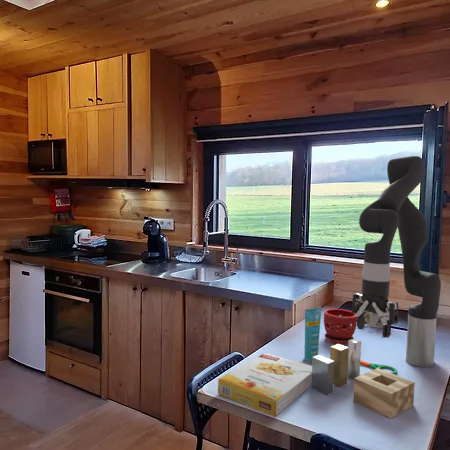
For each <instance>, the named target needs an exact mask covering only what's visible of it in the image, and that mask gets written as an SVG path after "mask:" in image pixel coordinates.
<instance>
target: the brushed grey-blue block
mask: <svg viewBox="0 0 450 450" xmlns="http://www.w3.org/2000/svg"><path fill="white" fill-rule="evenodd" d="M311 366H312V384H311V386H310V387H311V389H312V390H314V391H317V392H319V393H322V394H323V395H325V396H328V394H329V395H330V393H331V394H333V393H334V385H333V378H334V361H333V360H330V358H327V357H325V356H323V355H320V354H318V355H317V356H314V357H312V361H311ZM332 392H333V393H332Z"/></svg>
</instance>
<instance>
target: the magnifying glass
mask: <svg viewBox="0 0 450 450" xmlns="http://www.w3.org/2000/svg"><path fill="white" fill-rule="evenodd" d="M360 366H362V367H366V368H370V369H372V370H374V369H377V368H379V369H381V370H383V369H385V368H386V369H387V370H391V371H392V372H391V373H392V374H394V375H397V374H398V370H397V368H395V367H393V366H391V365H387V364H386V365H385V364H378V363H371V362H368V361H364V360H361V359H360Z"/></svg>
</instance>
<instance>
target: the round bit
mask: <svg viewBox="0 0 450 450" xmlns="http://www.w3.org/2000/svg"><path fill="white" fill-rule="evenodd" d="M347 347H348V348H349V352H348V377H347V379H348V378H349V379H350V380H354V378H356V377H358V376H360V375H361V373H360V372H361V365H360V360H361V356H362V355H361V352H362V342H361V340H358V339H354V340H349V341H348V344H347Z"/></svg>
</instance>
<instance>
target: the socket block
mask: <svg viewBox="0 0 450 450" xmlns="http://www.w3.org/2000/svg"><path fill="white" fill-rule="evenodd" d="M415 383H416V382H414V381H412V380H409V379H407V378H404V377H402V376H400V375H397V374H396V375H394V374H392V372H389V371H386V370H384V369H379V368H377V369H372V370H370V371H368V372H365V373H362V374H360V376H358V377H356V378H354V379H353V401H352V402H355V403H357V404H359V405H361V406H363V407H364V408H367V409H368V410H371V411H373V412H375V413H378V414H379V415H382V416H383V417H386V418H389V419H392V418H394V417H396V416H397V415H400V414H401V413H403V412H405V411H407V410H408V409H410V408H412V407H413V406H414V402H415V401H414V400H415Z"/></svg>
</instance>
